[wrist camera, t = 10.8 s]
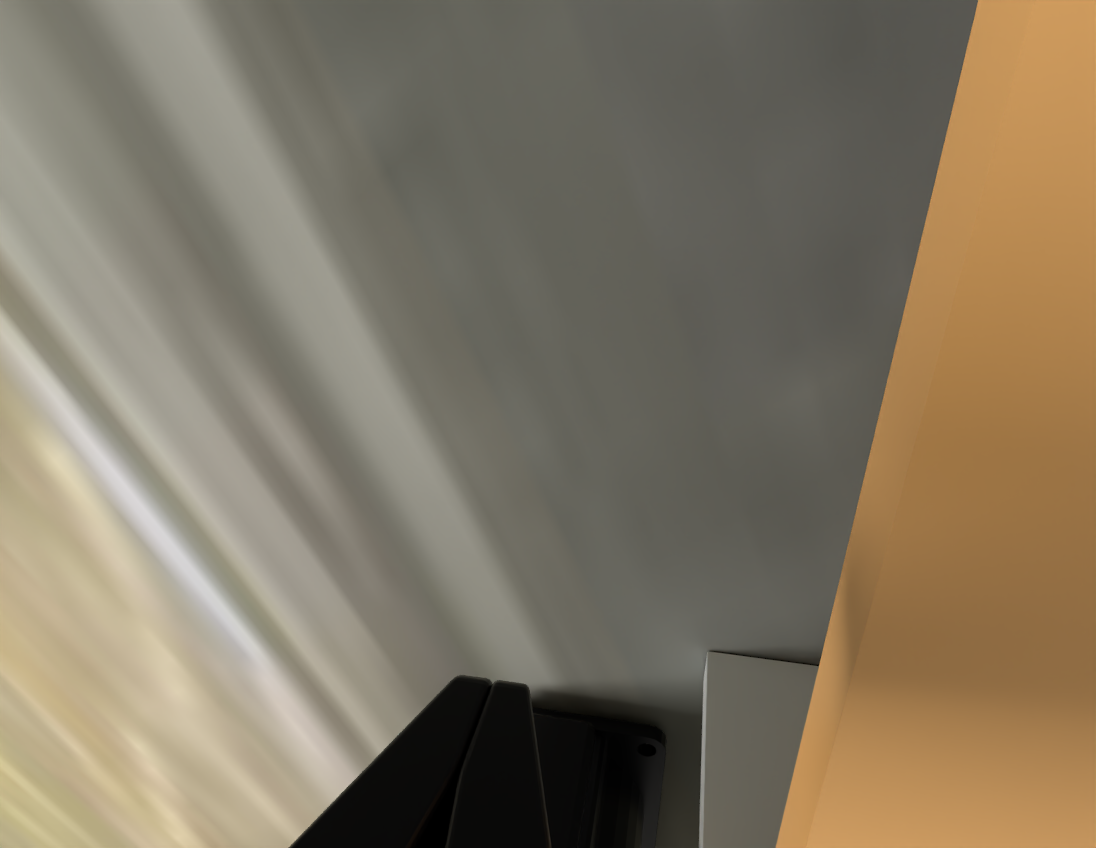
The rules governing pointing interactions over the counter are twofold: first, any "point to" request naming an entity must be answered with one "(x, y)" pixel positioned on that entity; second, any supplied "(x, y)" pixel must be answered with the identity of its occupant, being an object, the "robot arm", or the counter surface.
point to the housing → (749, 746)
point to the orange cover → (978, 489)
